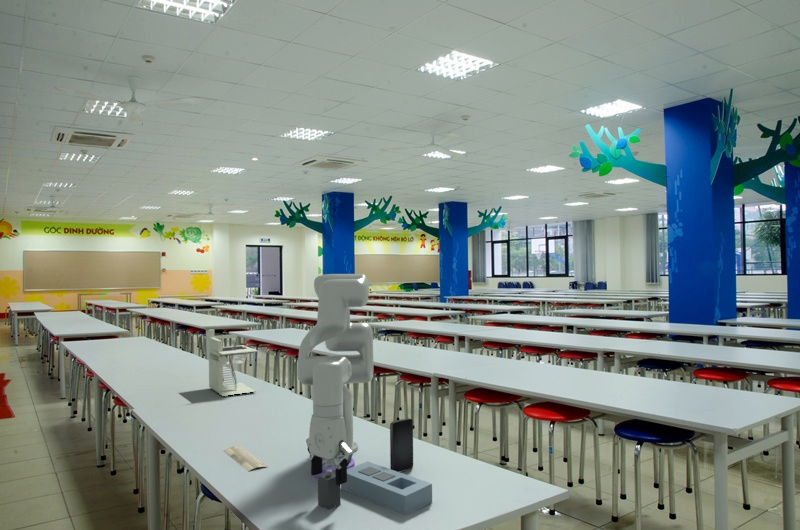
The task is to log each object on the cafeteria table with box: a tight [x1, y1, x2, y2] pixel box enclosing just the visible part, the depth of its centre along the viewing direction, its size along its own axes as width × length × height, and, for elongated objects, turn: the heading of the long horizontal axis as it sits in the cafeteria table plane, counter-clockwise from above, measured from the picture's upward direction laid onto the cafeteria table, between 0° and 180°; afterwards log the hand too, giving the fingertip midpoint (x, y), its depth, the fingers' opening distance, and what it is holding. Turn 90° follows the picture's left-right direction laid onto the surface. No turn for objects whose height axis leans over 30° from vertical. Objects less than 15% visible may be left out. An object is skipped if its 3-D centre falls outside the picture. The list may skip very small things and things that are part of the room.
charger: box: [317, 470, 341, 511], centre depth 135 cm, size 4×4×9 cm
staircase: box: [208, 329, 259, 397], centre depth 273 cm, size 28×18×30 cm, turn 33°
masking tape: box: [314, 457, 356, 479], centre depth 156 cm, size 12×12×4 cm
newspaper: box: [223, 445, 268, 472], centre depth 169 cm, size 24×7×2 cm, turn 36°
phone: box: [389, 417, 414, 473], centre depth 158 cm, size 8×1×15 cm, turn 128°
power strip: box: [340, 461, 433, 516], centre depth 142 cm, size 28×10×5 cm, turn 47°
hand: (328, 478), depth 134 cm, fingers open, 9 cm apart
